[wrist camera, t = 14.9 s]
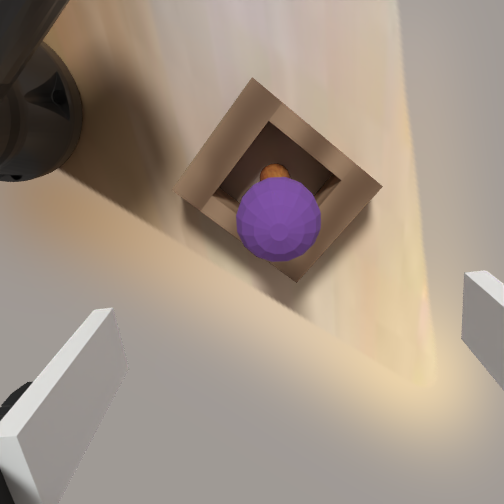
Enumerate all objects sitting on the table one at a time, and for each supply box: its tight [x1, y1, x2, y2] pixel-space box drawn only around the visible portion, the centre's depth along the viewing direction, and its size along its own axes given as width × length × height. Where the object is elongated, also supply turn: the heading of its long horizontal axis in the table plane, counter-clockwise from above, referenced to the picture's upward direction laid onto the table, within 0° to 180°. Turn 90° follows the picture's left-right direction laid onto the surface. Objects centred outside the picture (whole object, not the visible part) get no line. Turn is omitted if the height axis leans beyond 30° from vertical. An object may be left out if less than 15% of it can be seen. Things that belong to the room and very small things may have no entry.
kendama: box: [236, 164, 321, 262], centre depth 37 cm, size 6×6×20 cm
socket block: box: [172, 78, 383, 283], centre depth 44 cm, size 16×13×5 cm
